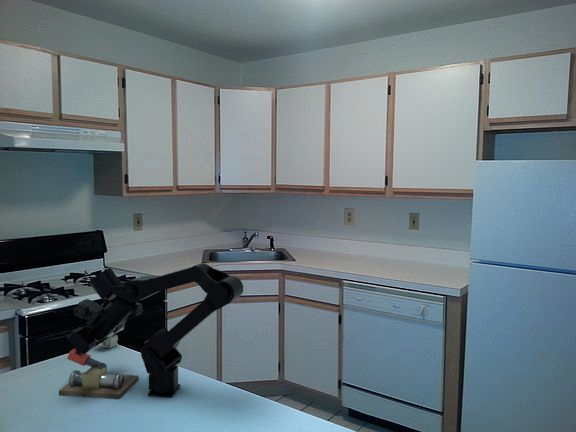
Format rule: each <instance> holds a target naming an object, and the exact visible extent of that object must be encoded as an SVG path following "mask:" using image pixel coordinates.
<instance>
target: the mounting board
mask: <svg viewBox="0 0 576 432" xmlns="http://www.w3.org/2000/svg"><path fill="white" fill-rule="evenodd" d="M82 373H84V371H83V372H82ZM109 374H110V375H116V374H117V373H109ZM124 377H125V379H124V384H123V386H122V387H120V388H119V389H114V387H101V388H100V389H99V390H95V389H83V388H82V385H75V386H70V385H69V382H68V383H67V384H65V385H64V386H63V387H62V388H60V389H59V390H58V395H59V396H69V397H79V398H80V397H84V398H85V397H86V398H96V399H98V398H99V399H112V400H113V399H115V400H120V399H121V398H122V397H123V396H124V395H125V394H126V393H127V392H128V391H129V390H130V389H131V388H133V386H134V385H135V384H136V383H138V381H139V380H140V378H139V375H133V374H124Z"/></svg>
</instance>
